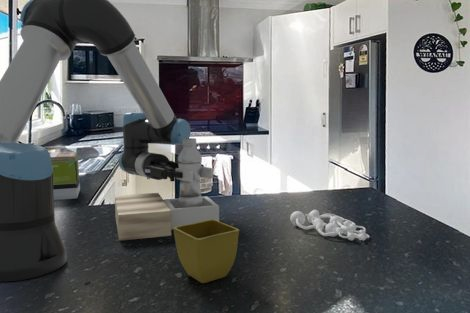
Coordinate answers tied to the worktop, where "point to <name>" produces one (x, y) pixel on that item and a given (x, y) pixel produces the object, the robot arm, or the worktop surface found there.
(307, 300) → the worktop surface
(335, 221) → the tangled rod sculpture
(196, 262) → the flower pot
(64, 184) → the tea box
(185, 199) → the plastic bottle
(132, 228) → the beige rectangular block
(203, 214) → the frame
